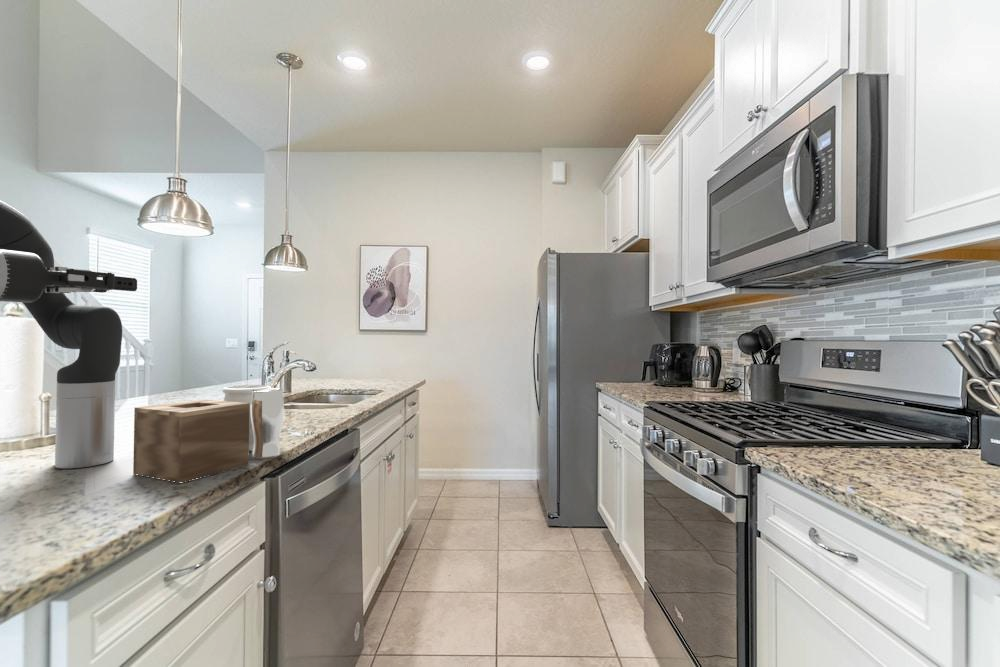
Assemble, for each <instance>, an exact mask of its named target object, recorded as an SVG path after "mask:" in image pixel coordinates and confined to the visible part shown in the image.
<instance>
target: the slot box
mask: <svg viewBox="0 0 1000 667" xmlns="http://www.w3.org/2000/svg"><path fill="white" fill-rule="evenodd" d="M191 407H196V408H191ZM133 412H134V413H133V414H134V419H133V422H134V424H133V468H132V469H133V472H132V474H138V475H143V476H149V477H154V478H160V479H165V480H170V481H175V482H185V481H189V480H192V479H196V478H200V477H203V478H205V477H204V476H207V477H209V476H208V475H211V476H213V475H212V474H214V475H217V474H216V473H218V474H221V473H224V471H225V472H228V471H232V470H236V469H238V468H242V467H243V468H244V467H245V466H248V465H250V464H249V462H250V459H249V458H250V457H249V455H250V452H249V412H250V403H242V402H230V401H224V400H217V399H215V400H214V399H205V398H204V399H198V400H197V399H196V400H189V401H179V402H171V403H170V402H169V403H165V404H164V403H163V404H156V405H155V404H154V405H145V406H137V407H134V411H133ZM220 472H221V473H220ZM143 476H142V477H143ZM200 479H201V478H200ZM196 480H197V479H196ZM189 482H190V481H189Z"/></svg>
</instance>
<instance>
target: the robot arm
mask: <svg viewBox="0 0 1000 667" xmlns="http://www.w3.org/2000/svg"><path fill="white" fill-rule="evenodd" d="M99 278H102V279H99ZM137 290H138V280H137V278H135V277H126V276H117V275H115V273H113V272H100V271H92V270H90V269H78V268H77V269H76V268H75V269H74V268H70V267H67V266H66V267H65V266H55V258H54V253H53V249H52V247H51V245H50V244H49V243H48V241H47V239H45V238H44V236H43V235H42V234H41V232H40V231H39V230H38V229H37V227H36V226H35V225H34V224H33V223H32V221H31V220H30V218H28V217H27V216H26V215H25V214H23V213H22V212H21V211H19V210H18V209H17V208H14V206H12V205H10V204H8V203H6V202H5V201H3V200H1V199H0V302H8V303H22V304H23V306H25V308H26V309H27V310H28V312H29V313H30V314H31V317H33V319H34V320H35V322H36V323H37V324H38V326H39V327H40V328H41V329H42V331H43V333H45V335H46V336H47V337H48V338H49V339H50V340H51V342H53V343H54V344H55V345H57V346H58V347H61V348H63V349H69V350H79V352H78V356H77V359H76V360H75V361H74V362H72V363H71V364H69V365H67V366H66V365H65V366H63V367H61V368H60V369H59V368H58V370H57V373H56V395H55V396H56V404H55V405H56V406H55V407H56V409H55V412H56V413H55V417H56V418H55V441H54V442H55V443H54V445H55V448H54V450H55V451H54V468H57V469H80V468H88V467H93V466H99V465H104V464H107V463H110V462H112V461H114V457H115V454H114V452H115V418H116V417H115V415H116V414H115V411H116V409H115V408H116V406H115V405H116V374H117V371H118V369H119V366H120V364H121V354H122V352H121V351H122V340H123V325H122V320H121V317H120V315H119V314H118V312H117V311H115V310H114V309H113V308H112V307H108V306H103V305H77V304H75V302H72V300H70V299H69V297H67V295H66V294H71V293H76V292H78V293H79V292H81V293H102V294H103V293H106V292H110V291H122V292H123V291H124V292H136V291H137Z"/></svg>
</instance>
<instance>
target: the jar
mask: <svg viewBox="0 0 1000 667" xmlns="http://www.w3.org/2000/svg"><path fill="white" fill-rule="evenodd" d="M266 388H272V386H271V385H265V384H246V385H245V384H244V385H232V386H225V387H223V388H222V392H223V394H224V397H223V401H230V402H242V403H250V398H251V390H255V389H266ZM252 449H253V432H252V427H251V421H250V412H249V453H250V452H252Z"/></svg>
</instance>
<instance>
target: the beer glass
mask: <svg viewBox="0 0 1000 667" xmlns="http://www.w3.org/2000/svg"><path fill="white" fill-rule="evenodd" d="M284 410H285V400H284V389H283V388H279V387H278V388H276V387H275V388H273V387H271V388H266V389H255V390H251V398H250V421H251V427H252V432H253V449H252V451H251V455H250V457H251V458H252V459H254V460H268V459H274V458H278V457H280V456H281V455H282V450H281V444H280V435H281V429H282V425H283V420H284V412H285V411H284Z"/></svg>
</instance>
